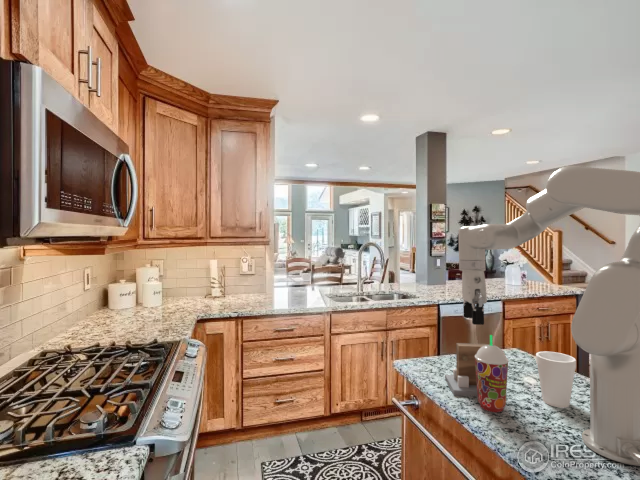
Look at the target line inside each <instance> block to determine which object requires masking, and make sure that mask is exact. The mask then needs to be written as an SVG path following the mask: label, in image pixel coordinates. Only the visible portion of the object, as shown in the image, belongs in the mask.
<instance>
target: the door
mask: <svg viewBox="0 0 640 480" xmlns="http://www.w3.org/2000/svg"><path fill="white" fill-rule="evenodd" d="M484 345H488V344H487V343H470V342H469V343H466V342H456V343H455V348H456V350H455V351H456V352H455V354H456V355H455V356H456V358H455V359H456V362H455V363H456V364H455V365H456V367H455V369H456V381H457V382H458V380H457V376H468V377H469V385H476V386H477V379H476V365H475V355H476V354H477V351H478V350H479V349H480V348H481V347H482V346H484Z"/></svg>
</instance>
